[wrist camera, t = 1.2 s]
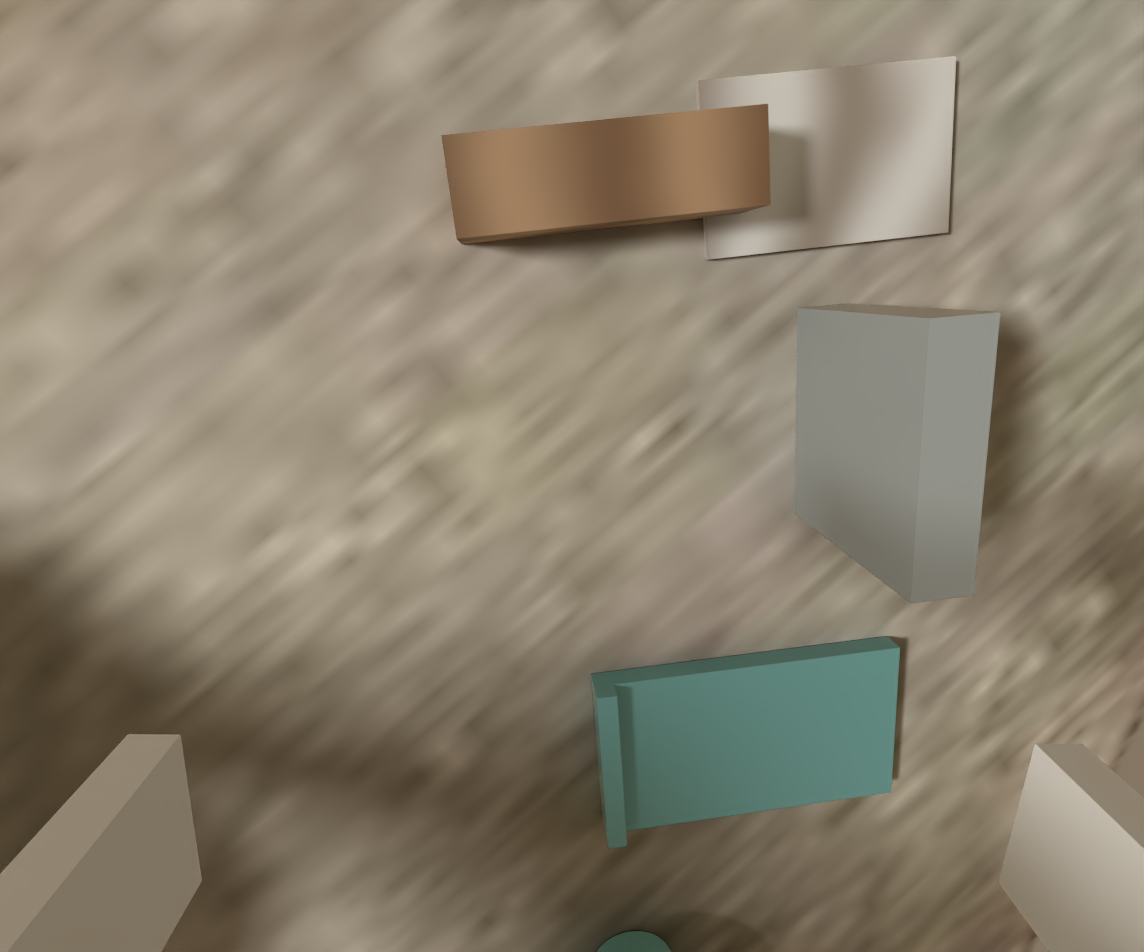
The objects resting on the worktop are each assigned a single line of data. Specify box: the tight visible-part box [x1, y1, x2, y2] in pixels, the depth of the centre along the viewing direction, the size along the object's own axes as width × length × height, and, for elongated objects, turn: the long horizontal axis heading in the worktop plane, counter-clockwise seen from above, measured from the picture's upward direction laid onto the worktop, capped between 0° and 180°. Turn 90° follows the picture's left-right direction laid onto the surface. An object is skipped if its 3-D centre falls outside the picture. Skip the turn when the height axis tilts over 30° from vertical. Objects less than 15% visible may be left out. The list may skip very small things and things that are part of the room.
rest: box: [591, 636, 900, 849], centre depth 36 cm, size 16×9×2 cm, turn 94°
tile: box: [795, 304, 1000, 603], centre depth 28 cm, size 3×10×10 cm, turn 4°
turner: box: [442, 56, 956, 260], centre depth 28 cm, size 22×7×4 cm, turn 96°
